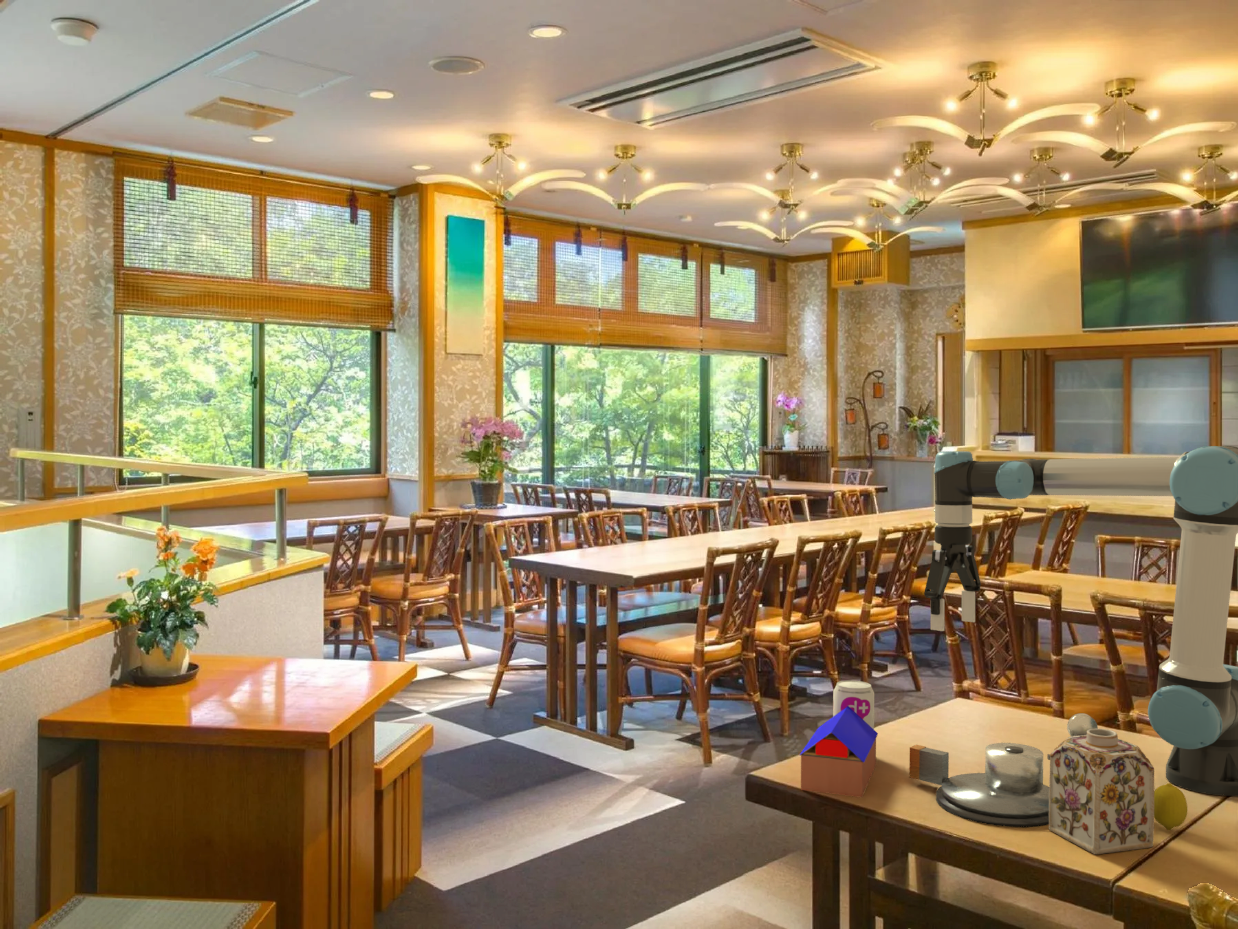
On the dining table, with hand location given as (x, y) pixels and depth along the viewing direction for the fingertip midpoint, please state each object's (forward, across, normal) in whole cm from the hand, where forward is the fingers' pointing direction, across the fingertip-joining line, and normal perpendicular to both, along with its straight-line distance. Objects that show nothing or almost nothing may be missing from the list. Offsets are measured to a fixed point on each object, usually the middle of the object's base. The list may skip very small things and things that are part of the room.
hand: (953, 625), depth 226 cm
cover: (+24, +18, +22) cm, 37 cm away
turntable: (+25, +25, +18) cm, 39 cm away
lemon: (+27, +16, +47) cm, 57 cm away
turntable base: (+26, +24, +22) cm, 42 cm away
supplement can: (+26, +19, -13) cm, 35 cm away
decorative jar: (+27, +28, +40) cm, 56 cm away
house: (+26, +32, -8) cm, 42 cm away
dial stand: (+27, +14, +30) cm, 42 cm away
